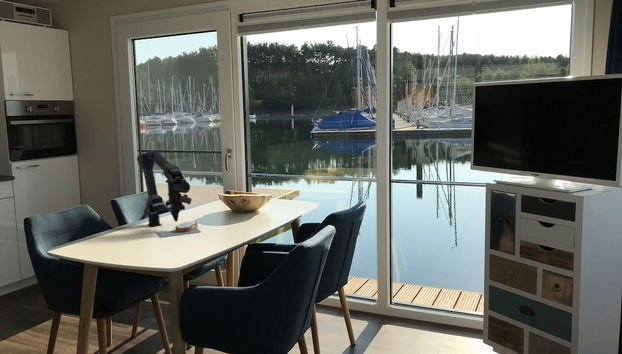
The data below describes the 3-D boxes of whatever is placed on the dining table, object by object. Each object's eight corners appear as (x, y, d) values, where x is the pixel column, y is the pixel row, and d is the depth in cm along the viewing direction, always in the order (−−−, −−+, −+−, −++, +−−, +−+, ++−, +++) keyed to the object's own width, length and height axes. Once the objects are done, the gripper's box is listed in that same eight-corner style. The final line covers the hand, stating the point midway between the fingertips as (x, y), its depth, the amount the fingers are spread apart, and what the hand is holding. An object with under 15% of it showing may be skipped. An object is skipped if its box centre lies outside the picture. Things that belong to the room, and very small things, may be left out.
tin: (172, 232, 270) (188, 233, 268) (172, 226, 270) (188, 227, 268) (185, 226, 285) (200, 227, 283) (185, 220, 284) (200, 221, 283)
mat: (157, 233, 272) (157, 232, 272) (196, 228, 280) (196, 227, 280) (160, 237, 262) (160, 236, 262) (201, 232, 270) (201, 231, 270)
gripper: (194, 192, 269) (196, 222, 271) (185, 187, 286) (187, 216, 288) (171, 194, 265) (173, 225, 267) (164, 190, 281) (166, 219, 283)
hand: (176, 221), depth 276 cm, fingers closed
